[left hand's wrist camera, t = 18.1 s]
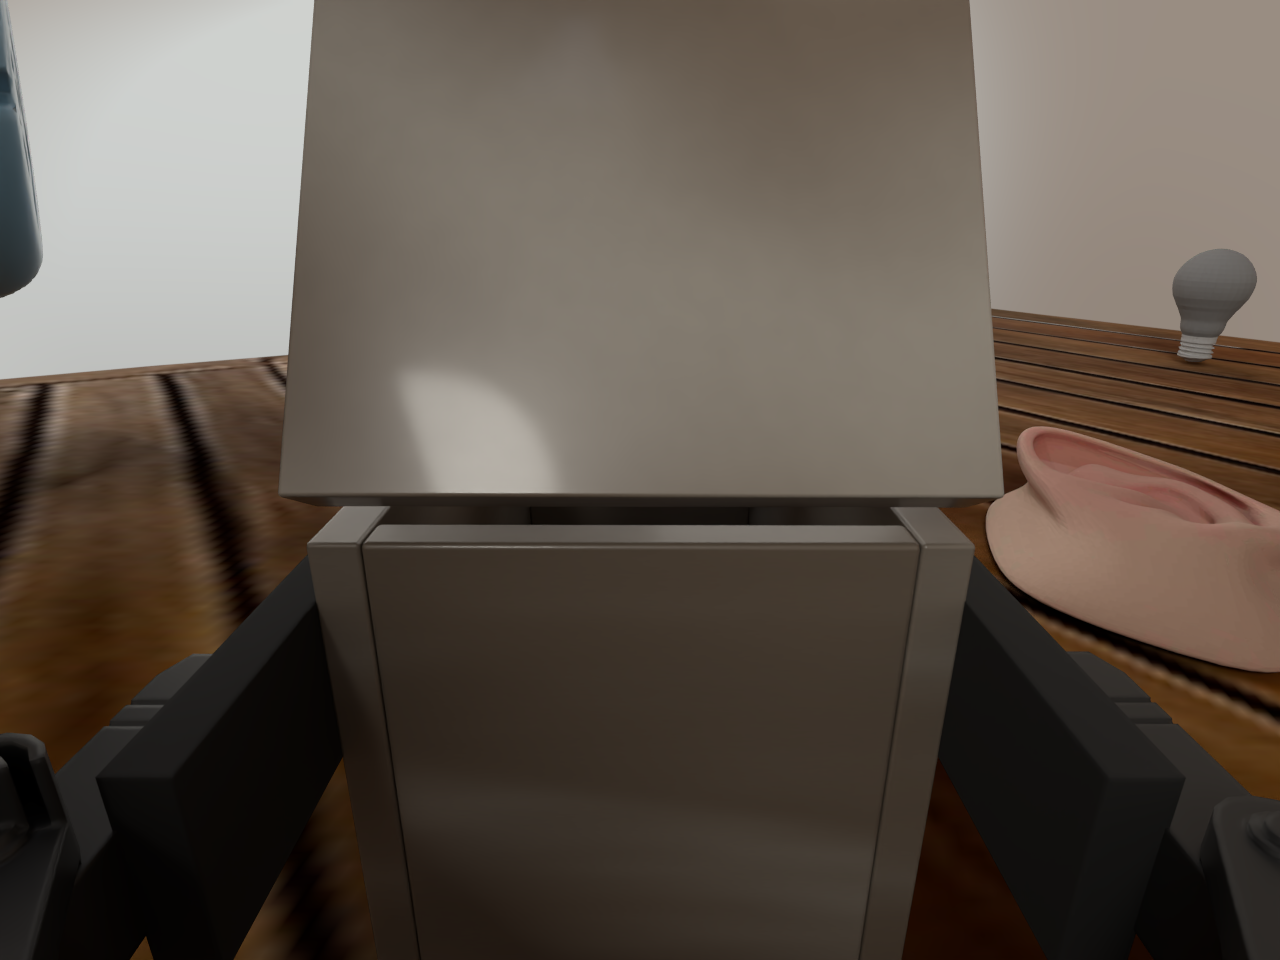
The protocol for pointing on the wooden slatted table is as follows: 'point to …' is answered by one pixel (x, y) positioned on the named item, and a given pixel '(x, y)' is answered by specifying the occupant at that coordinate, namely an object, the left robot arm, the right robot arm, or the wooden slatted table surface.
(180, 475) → the wooden slatted table surface
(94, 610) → the wooden slatted table surface
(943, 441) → the lid
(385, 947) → the chest
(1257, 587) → the anatomical model
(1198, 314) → the light bulb
